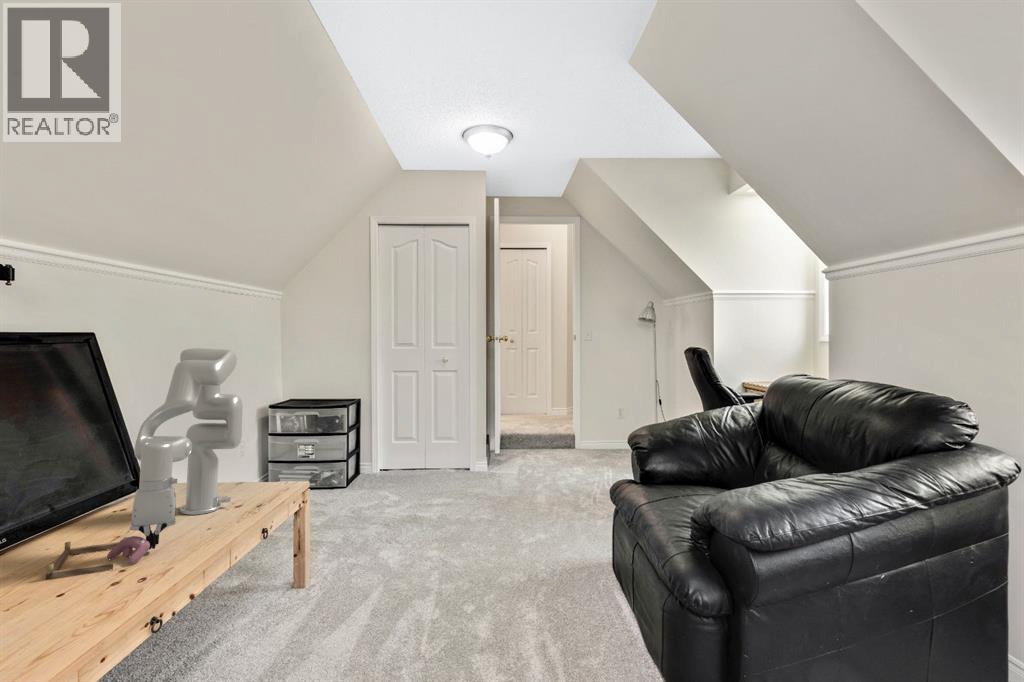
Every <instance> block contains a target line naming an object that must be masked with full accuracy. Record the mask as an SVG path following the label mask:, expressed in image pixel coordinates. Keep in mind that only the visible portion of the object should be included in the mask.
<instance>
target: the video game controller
mask: <svg viewBox="0 0 1024 682" xmlns="http://www.w3.org/2000/svg"><path fill="white" fill-rule="evenodd" d="M118 542H119V543H118V544H117V545H116V546H115V547H114V548H113V549H112V550H109V551H108V553H107V556H106V559H107V560H108V561H110V560H109V559H111V560H113V559H112V558H114V559H115V558H117V557H118V556H119V555H120V554H121V555H122V556H121V557H122V558H129V559H128V561H127V563H128V564H127V565H129V566H132V565H131V564H133V565H135V564H137V563H136V562H139V561H140V560H141V559H142V558H143V556H145V554H147V552H149V550H150V549H149V547H150V543H149V542H148V541H146V538H144V537H141V536H138V535H137V536H135V535H131V536H124V537H123V538H122V539H120V541H118ZM133 549H134V550H133ZM129 556H130V557H129ZM134 563H135V564H134Z"/></svg>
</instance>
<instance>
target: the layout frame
mask: <svg viewBox="0 0 1024 682" xmlns="http://www.w3.org/2000/svg"><path fill="white" fill-rule="evenodd" d="M71 543H72V542H71V541H67V542H65V543H64V550H63V552H61V554H60V555H59V556H58V558H57V559H56V560H55V562H54V563H49V564H47V565H46V574H45V581H46V580H53V579H59V578H67V577H73V575H74V576H80V574H81V575H85V574H86V573H87V574H93V573H100V572H105V570H107V571H111V570H110V569H112V570H113V569H114V562H105V563H100V564H93V565H86V566H79V567H73V568H71V567H70V568H66V569H61V567H62V566H64V565H63V564H64V563H65V562H66V561H65V560H68V558H69V556H73V554H76V555H79V554H78V553H83V554H87V553H86V552H90V553H94V552H95V553H97V552H96V551H98V552H103V551H102V550H105V551H108V550H107V549H113V548H114V547H115V546H116V545H117V544H118V543H119V541H117V542H111V543H110V542H109V543H103V544H102V543H101V544H93V545H87V546H80V547H71Z"/></svg>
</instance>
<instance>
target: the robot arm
mask: <svg viewBox="0 0 1024 682" xmlns="http://www.w3.org/2000/svg"><path fill="white" fill-rule="evenodd" d="M179 360H180V362H177V364H176V365H175V366H174V370H173V374H172V377H171V380H170V384H169V388H168V391H167V394H166V398H165V400H164V403H163V404H161V406H159V407H157V408H156V409H155V410H153V412H151V413H150V415H148V417H146V418H145V420H144V421H143V423H141V425H140V427H139V430H138V433H137V437H136V439H135V444H134V450H133V452H134V457H135V458H136V459H137V460H139V461H140V469H139V482H138V483H139V487H138V489H136V491H135V493H134V494H135V495H134V497H133V502H132V508H131V510H132V511H131V516H130V517H131V518H130V519H131V520H130V521H131V523H130V527H129V530H130V531H138V532H141V533H142V534H144V536H145V540H146V541H148V542H149V543H150V547H149V550H155V549H156V546H157V545H159V542H160V533H161V532H162V531H163V530H164V529H167V527H171V526H175V525H176V523H177V521H176V506H177V505H176V504H177V502H176V490H175V486H174V484H178V478H175V477H173V463H176V462H180V461H184V460H185V459H186V458H187V472H186V488H185V489H186V492H185V504H184V505H182V506H181V507H180V508H179V512H180V513H181V514H183V515H192V516H193V515H195V516H196V515H203V514H208V513H209V514H210V513H212V512H215V511H217V510H219V509H220V508H221V507H222V503H231V496H227V495H223V496H220V495H219V493H218V477H219V458H218V456H217V454H216V452H215V451H214V450H231V449H232V450H233V449H236V448H238V447H239V445H240V444H241V441H242V435H243V402H242V401H243V400H242V399H241V397H240V396H239V395H237V394H233V393H232V394H231V393H222V392H221V385H222V384H223V383H224V382H225V381H226V380H227V379H228V378H229V376H231V374H232V373H233V371H234V370H235V369H236V366H237V360H238V357H237V354H236V353H235V352H234V351H233V350H231V349H225V348H224V349H220V348H203V347H202V348H201V347H200V348H199V347H198V348H197V347H196V348H194V347H193V348H186V349H183V350H181V352H180V356H179ZM190 412H191V413H192V415H193V417H194V418H195V419H197V420H201V421H203V420H205V421H225V422H200V423H195V424H192V425H191V426H189V427H188V428H187V430H186V433H185V435H186V436H179V435H178V436H175V435H174V436H168V435H164V436H163V435H156V436H155V433H156V431H157V429H158V428H159V427H160V426H162V424H164V423H165V422H167V421H169V420H171V419H174V418H176V417H179V416H181V415H183V414H187V413H190ZM151 526H156V527H155V530H154V531H152V529H151V528H152V527H151Z"/></svg>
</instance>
